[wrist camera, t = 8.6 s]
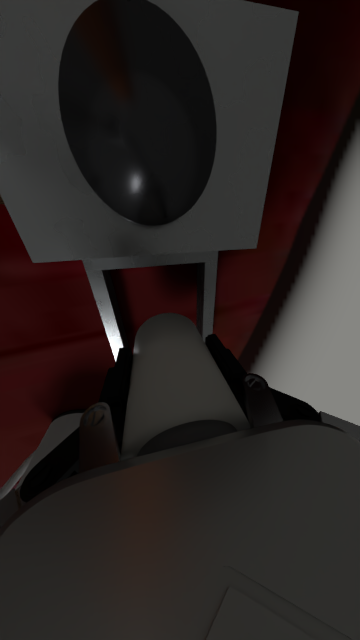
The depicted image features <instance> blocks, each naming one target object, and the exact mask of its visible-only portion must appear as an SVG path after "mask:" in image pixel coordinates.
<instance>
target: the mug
mask: <svg viewBox="0 0 360 640" xmlns="http://www.w3.org/2000/svg"><path fill="white" fill-rule="evenodd" d="M85 411H86V410H74V411H69V412H65V413H63V414H61V415H59V416H58V417H56V418H55V419H54V420H53V421H52V423H51V424H50V426H49V428H48V430H47V432H46V434H45V436H44V437H43V439H42V441H41V443H40V445H39V447H38V448H37V450H35V451H34V452H33V453H32V454H31V455H30V456H29V457H28V458H27V459H26V460H25V461H24V462H23V463H22V465H21V466H20V467H19V468H18V469H17V470H16V472H15V473H14V474H13V475H12V476H11V478H10V479H9V480H8V481H7V482H6V483H5V485H4V486H3V487H2V488H1V489H0V500H1V499H2V498H3V497H4V496H5V495H7V494H8V493H9V491H10V490H11V489H12V487H13V486H14V485H15V484H16V482H17V481H18V480H19V479H20V477H21V476H22V475H23V476H22V478H21V480H20V482H19V484H18V485H17V487H16V489H17V488H19V487H20V486H21V485H22V483H23V481H24V479H25V477H26V476H27V474H28V473H29V472H30V470H31V469H32V468H33V467H34V466H35V465H36V464H37V463H38V462H39V461H41V460H42V459H43V458H44V457H45V456H46V455H47V454H49V453H50V452H51V451H52V450H53V449H54V448H55V447H56V446H58V445H59V444H60V443H61V442H62V441H63V440H64V439H65V438H67V437H68V436H69V435H70V434H71V433H72V432H73V431H75V430H76V429H77V428H78V427H79V426H80V418H81V416H82V414H83V413H84V412H85Z"/></svg>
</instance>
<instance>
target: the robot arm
mask: <svg viewBox="0 0 360 640" xmlns="http://www.w3.org/2000/svg"><path fill="white" fill-rule="evenodd" d="M205 344H206V346H207V348H208V350H209V352H210V353H211V355H212V357H213V359H214V361H215V362H216V364H217V366H218V368H219V369H220V371H221V373H222V375H223V377H224V378H225V380H226V382H227V384H228V386H229V387H230V389H231V391H232V393H233V395H234V396H235V398H236V400H237V402H238V404H239V405H240V407H241V409H242V411H243V413H244V414H245V416H246V418H247V420H248V422H249V423H250V429H246V430H242V431H238V432H234V433H230V434H226V435H222V436H218V437H214V438H210V439H206V440H202V441H198V442H194V443H190V444H186V445H182V446H178V447H174V448H170V449H166V450H162V451H158V452H155V453H151V454H147V455H143V456H139V457H135V458H131V459H127V460H124V461H121V457H120V456H121V448H122V440H123V432H124V424H125V416H126V408H127V400H128V392H129V384H130V376H131V368H132V360H133V355H132V351H131V348H129V349H128V347H123V348H119V351H118V355H117V359H116V363H115V367H112V368H109V370H108V372H107V376H106V379H105V382H104V386H103V389H102V392H101V396H100V399H99V402H98V403H96V404H94V405H92V406H90V407H89V408H88V409H87V410H86V411H85V412H84V413H83V414H82V416H81V418H80V426H79V427H78V428H77V429H76V430H75V431H73V432H72V433H71V434H70V435H69V436H68V437H67V438H65V439H64V440H63V441H62V442H61V443H60V444H59V445H58V446H56V447H55V448H54V449H53V450H52V451H51V452H50V453H49V454H47V455H46V456H45V457H44V458H43V459H42V460H41V461H39V462H38V463H37V464H36V465H35V466H34V467H33V468H32V469H31V470H30V472H29V473H28V474H27V476H26V477H25V479H24V481H23V483H22V485H21V486H20V487H19V488H17V489H12V490H11V491H10V492H9V493H8V494H7V495H5V496H4V497H3V498H2V499H1V500H0V640H360V426H358V425H355V424H353V423H350V422H348V421H345V420H342V419H340V418H337V417H335V416H332V415H329V414H327V413H324V412H321V411H320V412H319V413H318V412H317V411H316V410H315V409H314V408H313V407H312V406H310V405H309V404H308V403H306V402H304V401H301V400H299V399H297V398H294V397H292V396H289V395H287V394H284V393H282V392H280V391H277V390H275V389H272V388H270V387H269V386H268V384H267V382H266V380H265V379H264V378H262V377H261V376H259V375H257V374H253V373H249V374H247V373H246V372H245V370H244V369H243V367H242V366H241V365H240V363H239V362H238V361H237V359H236V358H235V357H234V355H233V354H232V353H231V351H230V350H229V349H226V348H225V347H224V346H223V344H222V343H221V341H220V340H219V339H218V337H217V336H216V334H210V335H208V336H207V337H206V338H205Z"/></svg>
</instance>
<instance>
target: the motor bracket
mask: <svg viewBox="0 0 360 640" xmlns="http://www.w3.org/2000/svg"><path fill="white" fill-rule="evenodd" d="M298 13H299V12H298V11H293V10H288V9H283V8H278V7H273V6H269V5H264V4H259V3H254V2H249V1H244V0H0V204H5V206H6V208H7V210H8V212H9V214H10V216H11V218H12V220H13V222H14V224H15V226H16V228H17V230H18V233H19V235H20V237H21V239H22V241H23V243H24V245H25V247H26V249H27V251H28V253H29V255H30V257H31V259H32V262H33V263H38V262H53V261H69V260H82V261H83V264H84V267H85V270H86V273H87V276H88V279H89V282H90V285H91V288H92V291H93V294H94V297H95V300H96V303H97V306H98V309H99V312H100V315H101V318H102V321H103V324H104V327H105V330H106V333H107V336H108V339H109V342H110V345H111V348H112V351H113V354H114V357H115V360H116V359H117V355H118V351H119V348H123V347H128V349H129V344H128V340H127V336H126V333H125V329H124V325H123V321H122V317H121V313H120V309H119V306H118V302H117V298H116V294H115V290H114V286H113V282H112V279H111V275H110V271H109V269H122V268H135V267H148V266H161V265H174V264H187V263H197V327H196V328H197V330H198V332H199V334H200V335H201V337H202V339H203V341H204V343H205V338H206V337H207V336H208V335H210V334H212V331H213V317H214V303H215V289H216V275H217V260H218V251H220V250H235V249H250V248H256V247H257V242H258V236H259V230H260V225H261V219H262V214H263V208H264V203H265V197H266V191H267V186H268V180H269V175H270V169H271V164H272V158H273V153H274V147H275V141H276V136H277V130H278V125H279V119H280V114H281V108H282V102H283V97H284V91H285V86H286V80H287V75H288V69H289V63H290V58H291V52H292V47H293V41H294V36H295V30H296V25H297V19H298Z"/></svg>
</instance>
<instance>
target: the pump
mask: <svg viewBox="0 0 360 640" xmlns="http://www.w3.org/2000/svg"><path fill="white" fill-rule="evenodd" d="M246 429H250V423H249V422H248V420H247V418H246V416H245V414H244V413H243V411H242V409H241V407H240V405H239V404H238V402H237V400H236V398H235V396H234V395H233V393H232V391H231V389H230V387H229V386H228V384H227V382H226V380H225V378H224V377H223V375H222V373H221V371H220V369H219V368H218V366H217V364H216V362H215V361H214V359H213V357H212V355H211V353H210V352H209V350H208V348H207V346H206V344H205V343H204V341H203V339H202V337H201V335H200V334H199V332H198V330H197V328H196V326H195V325H194V324H193V322H192V321H191V320H190V319H188V318H187V317H185V316H183V315H180V314H175V313H164V314H159V315H156V316H154V317H151V318H150V319H148V320H147V321H145V322H144V323H143V324H142V325H141V327H140V328H139V330H138V331H137V334H136V337H135V344H134V352H133V360H132V368H131V376H130V384H129V392H128V400H127V408H126V416H125V424H124V432H123V440H122V448H121V456H120V457H121V461H124V460H127V459H131V458H135V457H139V456H143V455H147V454H151V453H155V452H158V451H162V450H166V449H170V448H174V447H178V446H182V445H186V444H190V443H194V442H198V441H202V440H206V439H210V438H214V437H218V436H222V435H226V434H230V433H234V432H238V431H242V430H246Z"/></svg>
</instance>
